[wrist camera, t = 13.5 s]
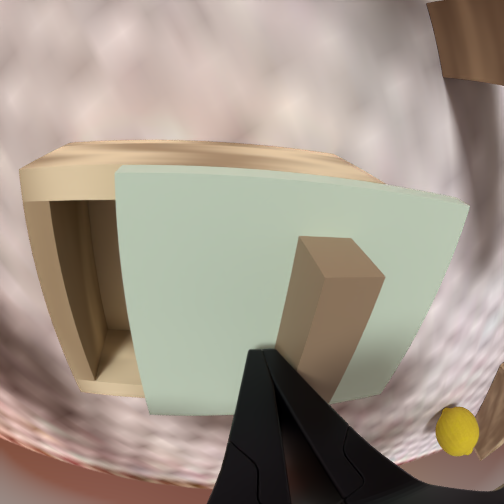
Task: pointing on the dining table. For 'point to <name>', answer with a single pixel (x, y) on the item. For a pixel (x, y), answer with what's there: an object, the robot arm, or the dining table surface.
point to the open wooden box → (106, 239)
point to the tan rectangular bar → (470, 38)
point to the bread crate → (491, 418)
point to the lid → (274, 278)
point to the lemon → (457, 431)
